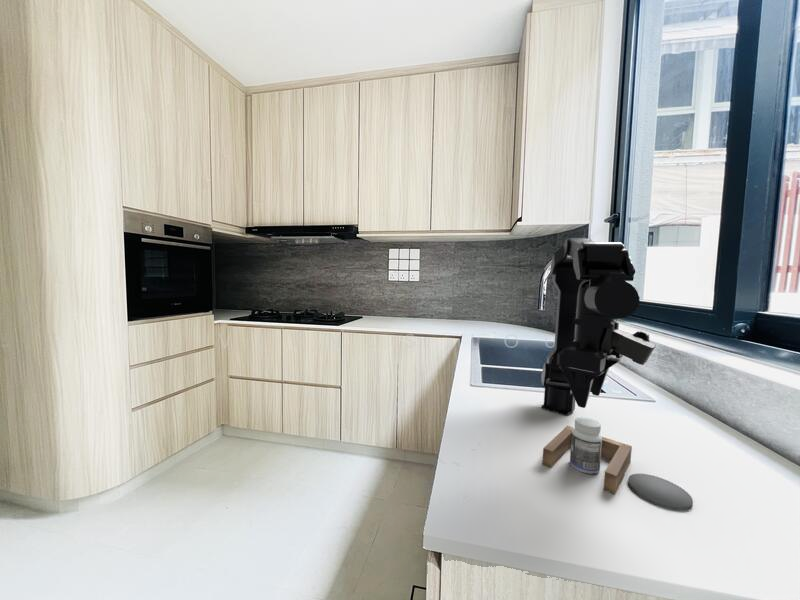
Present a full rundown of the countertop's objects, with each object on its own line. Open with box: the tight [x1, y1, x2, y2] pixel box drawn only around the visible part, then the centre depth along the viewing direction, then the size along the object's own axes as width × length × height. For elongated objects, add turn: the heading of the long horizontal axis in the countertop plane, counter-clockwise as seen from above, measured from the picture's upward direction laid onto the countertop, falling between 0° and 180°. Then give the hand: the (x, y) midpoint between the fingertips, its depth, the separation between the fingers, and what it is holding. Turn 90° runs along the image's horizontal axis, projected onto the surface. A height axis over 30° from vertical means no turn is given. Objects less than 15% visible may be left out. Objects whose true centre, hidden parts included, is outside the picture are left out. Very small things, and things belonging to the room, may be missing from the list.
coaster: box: [627, 473, 693, 511], centre depth 51 cm, size 8×8×1 cm
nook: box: [541, 425, 633, 495], centre depth 59 cm, size 11×14×3 cm
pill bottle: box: [569, 416, 603, 475], centre depth 58 cm, size 5×5×8 cm
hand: (589, 400), depth 57 cm, fingers open, 9 cm apart
